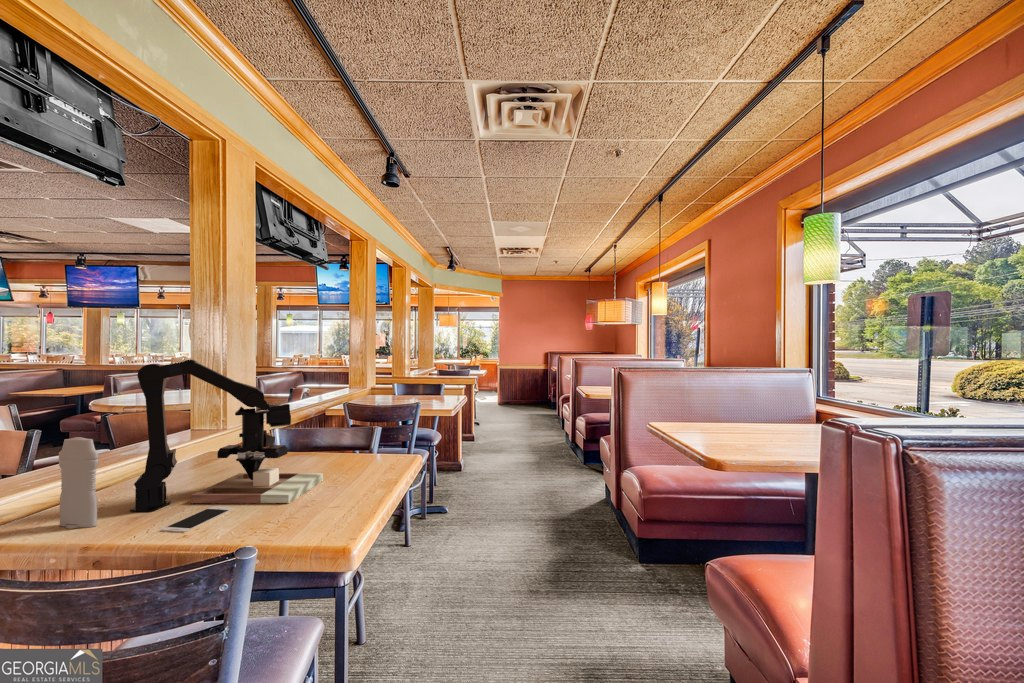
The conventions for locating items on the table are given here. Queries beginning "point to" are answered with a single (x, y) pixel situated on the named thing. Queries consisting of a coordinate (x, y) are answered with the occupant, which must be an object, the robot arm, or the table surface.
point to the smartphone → (197, 519)
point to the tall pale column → (78, 483)
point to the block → (266, 477)
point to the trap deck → (258, 489)
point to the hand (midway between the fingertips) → (252, 479)
